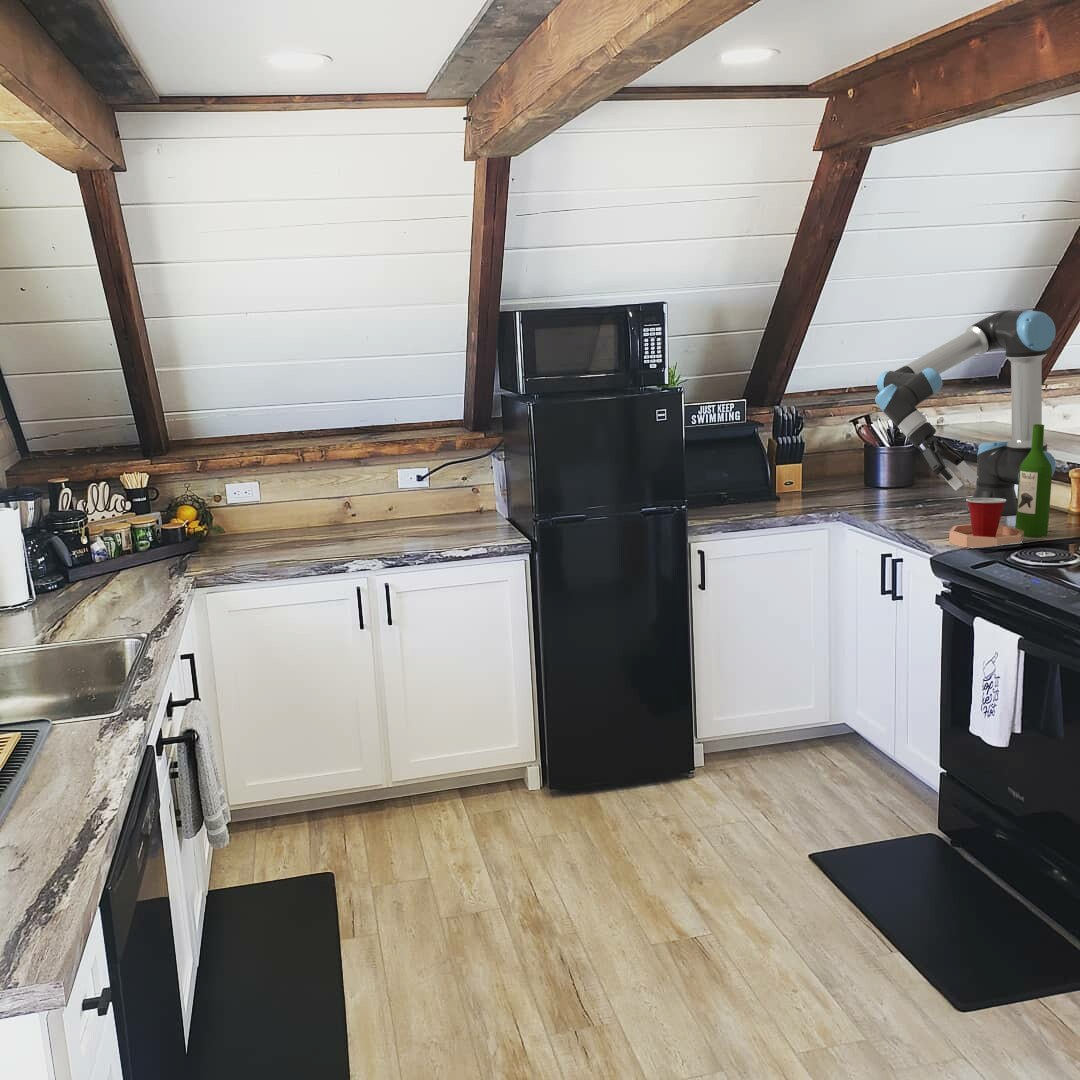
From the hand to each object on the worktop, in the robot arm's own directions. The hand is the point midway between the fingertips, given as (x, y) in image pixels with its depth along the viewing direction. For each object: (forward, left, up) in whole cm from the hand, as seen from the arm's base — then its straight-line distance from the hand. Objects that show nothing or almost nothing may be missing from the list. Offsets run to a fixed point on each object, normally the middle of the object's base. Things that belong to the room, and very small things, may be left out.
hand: (967, 484), depth 323 cm
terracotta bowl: (-3, +5, -17) cm, 18 cm away
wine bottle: (-22, +1, -17) cm, 28 cm away
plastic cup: (-3, +5, -16) cm, 17 cm away
